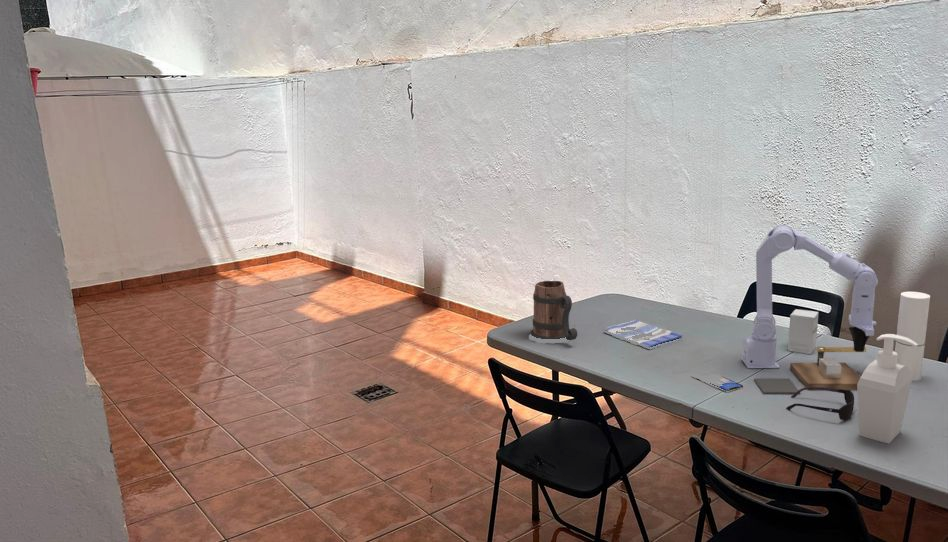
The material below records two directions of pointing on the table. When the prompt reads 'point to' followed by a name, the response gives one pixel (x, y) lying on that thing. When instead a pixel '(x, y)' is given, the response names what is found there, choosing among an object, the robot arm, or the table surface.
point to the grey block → (829, 368)
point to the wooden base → (815, 379)
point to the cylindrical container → (912, 331)
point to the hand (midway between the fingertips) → (858, 351)
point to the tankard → (552, 312)
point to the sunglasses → (844, 411)
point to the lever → (836, 349)
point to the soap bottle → (884, 393)
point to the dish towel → (657, 338)
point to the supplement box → (803, 331)
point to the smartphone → (729, 385)
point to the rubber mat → (776, 385)
